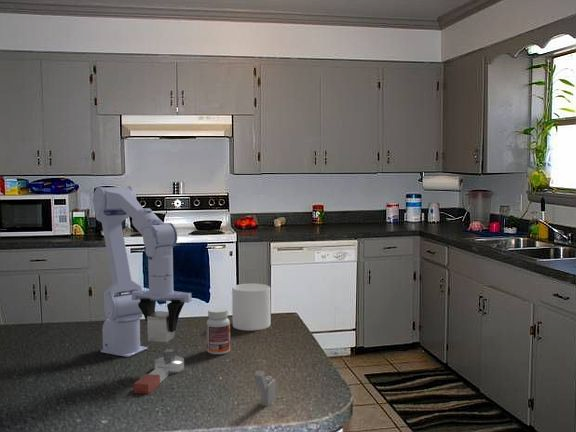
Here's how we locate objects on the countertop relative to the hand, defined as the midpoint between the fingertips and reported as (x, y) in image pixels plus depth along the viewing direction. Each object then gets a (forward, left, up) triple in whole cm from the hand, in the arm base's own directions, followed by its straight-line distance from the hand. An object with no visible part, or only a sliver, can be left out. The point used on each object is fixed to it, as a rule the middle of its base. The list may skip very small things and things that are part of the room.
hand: (162, 330), depth 142 cm
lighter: (+32, -7, -10) cm, 34 cm away
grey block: (0, 0, -2) cm, 2 cm away
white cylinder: (-1, +44, -10) cm, 46 cm away
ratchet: (+3, -4, -10) cm, 11 cm away
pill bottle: (+4, +18, -10) cm, 21 cm away
